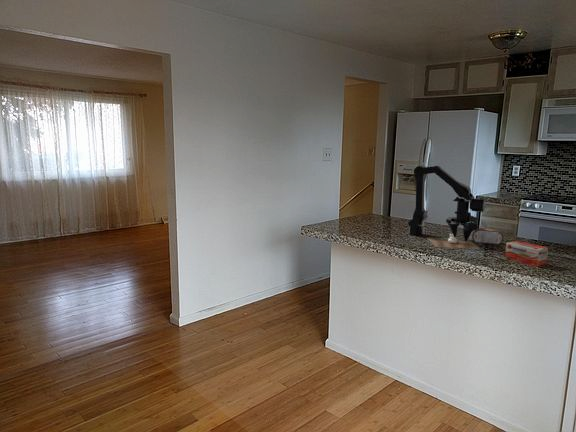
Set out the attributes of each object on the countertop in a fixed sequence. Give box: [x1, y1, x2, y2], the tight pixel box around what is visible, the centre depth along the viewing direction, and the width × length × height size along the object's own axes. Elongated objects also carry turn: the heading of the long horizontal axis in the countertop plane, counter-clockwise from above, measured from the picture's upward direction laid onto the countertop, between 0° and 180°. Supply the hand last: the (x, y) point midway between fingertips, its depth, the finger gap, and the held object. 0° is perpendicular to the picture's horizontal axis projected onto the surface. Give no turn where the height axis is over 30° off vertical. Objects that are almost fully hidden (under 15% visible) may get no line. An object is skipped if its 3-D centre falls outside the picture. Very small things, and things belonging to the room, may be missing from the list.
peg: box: [447, 232, 458, 243], centre depth 219 cm, size 12×4×3 cm, turn 163°
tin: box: [471, 227, 504, 245], centre depth 218 cm, size 15×3×8 cm, turn 71°
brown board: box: [426, 237, 481, 250], centre depth 216 cm, size 22×20×1 cm
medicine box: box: [504, 240, 549, 268], centre depth 188 cm, size 15×8×8 cm, turn 31°
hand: (460, 238), depth 220 cm, fingers open, 9 cm apart
